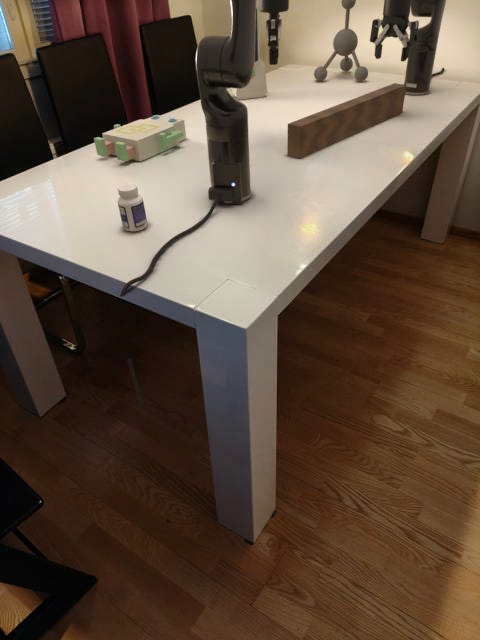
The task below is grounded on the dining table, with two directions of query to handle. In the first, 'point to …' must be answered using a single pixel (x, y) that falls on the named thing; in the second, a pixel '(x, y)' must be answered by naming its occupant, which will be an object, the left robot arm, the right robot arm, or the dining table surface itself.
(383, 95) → the beam
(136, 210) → the pill bottle
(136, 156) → the decorative block
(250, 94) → the electronic device
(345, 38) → the molecular model
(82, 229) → the dining table surface
